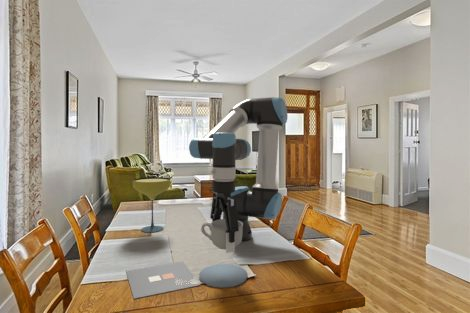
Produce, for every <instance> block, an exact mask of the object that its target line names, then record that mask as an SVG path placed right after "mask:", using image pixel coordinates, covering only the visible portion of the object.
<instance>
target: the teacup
mask: <svg viewBox="0 0 470 313" xmlns="http://www.w3.org/2000/svg"><path fill="white" fill-rule="evenodd" d="M205 227H208V228H209V230H210V234H209V233H208V232H207V231H206V230H205ZM238 227H239V231H236V232H235V248H237V247H238V246H239V245H240V244H241V243H242V242H241V241H242V232H243V223H242V222H241V221H238ZM200 230H201V233H202V234H203V235H204V236H205V237H206V238H208V239H209V240H210V241H211V242H212V244H213V245H214V246H215V247H216V248H218V249H219V250H220V249H221V250H225V251H226V232H225V231H227V226H226V221H225V219H223V218H221V219H219V220H215V221H213V222H212V221H211V222H210V223H209V222H204V223H203V224H202V225H201V228H200Z"/></svg>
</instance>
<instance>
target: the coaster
mask: <svg viewBox="0 0 470 313" xmlns="http://www.w3.org/2000/svg"><path fill="white" fill-rule="evenodd" d="M198 278H200V279H199V281H200V280H201V281H202V282H203V283H202V282H201V281H200V282H201V283H202V284H204V283H205V284H207V285H206V286H208V285H209V287H211V286H212V288H217V287H219V288H220V289H226V288H227V289H228V288H229V289H230V288H234V287H237V286H240V285H243V283H245V282H246V281H247V279H248V272H247V270H246V269H245V268H243V267H241V266H239V265H237V264H236V265H235V264H231V263H230V264H229V263H218V264H212V265H208V266H206V267H204V268H202V269H201V270H200V271H199V273H198ZM205 284H204V285H205Z"/></svg>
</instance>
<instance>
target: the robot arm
mask: <svg viewBox="0 0 470 313" xmlns="http://www.w3.org/2000/svg"><path fill="white" fill-rule="evenodd" d="M287 121H288V109H287V104H286V102H285V100H284V98H283V97H274V96H272V97H259V98H257V97H256V98H254V97H253V98H248V99H245V100H243V101H241V102H239V103H237V104H236V105H234V106H233V107H231V109H229V111H228V113H227V115H226V116H225V117H224V118H222V120H220V121H219V122H218V123H217V124H216V125H215V126H214V127H213V128H211V129H210V130H209V131H208V132H207V133H206V134H205V135H204V136H202V137H198V138H195V137H194V138H193V139H191V141H190V142H189V145H188V150H189V154H190V156H191V157H192V158H194V159H200V160H203V159H205V160H212V170H210V172H211V173H212V174H211V175H212V179H213V180H212V182H211V183H212V184H211V188H212V189H211V191H212V201H211V208H210V216H209V218H210V219H211V223H212V222H213V221H215V220H219V219H225V221H226V226H227V231H225V232H226V250H225V253H235V251H236V247H235V232H236V231H239V227H238V221H241V222H242V223H243V232H242V241H241V243H242V242H247V241H249V240H251V239H253V235H252V234H253V232H252V229H251V225H250V222H249V217H251V218H257V219H264V220H267V219H268V220H274V219H276V218H278V215H279V214H280V211H281V209H282V204H283V195H282V193H281V192H279V187H278V186H277V185H276V179H277V164H278V162H277V161H278V148H279V147H278V146H279V135H280V133H279V132H280V131H281V130H282V129H283V125H284V124H286V123H288V122H287ZM249 124H251V125H252V124H256V128H257V129H258V130H259V133H258V134H259V135H258V136H259V138H258V148H257V149H258V150H257V161H256V163H257V164H256V177H255V184H253V185H252V187H251V190H250V188H249V187H248V186H247V185H245V186H236V181H235V180H236V172H237V170H236V161H238V160H239V161H242V160H244V159H247V158H248V157H249V156H250V154H251V151H252V149H251V148H252V147H251V144H250V142H249V141H248V140H246V139H245V138H244V139H243V138H237V136H236V134H235V133H236V132H237V131H238V130H239V129H240V128H243V127H244V126H246V125H249ZM221 217H222V218H221Z"/></svg>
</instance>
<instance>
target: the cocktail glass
mask: <svg viewBox="0 0 470 313" xmlns="http://www.w3.org/2000/svg"><path fill="white" fill-rule="evenodd" d="M171 181H172V180H171V178H168V177H161V176H160V177H159V176H157V177H156V176H151V177H150V176H149V177H140V178H134V179H133V180H132V187H133V189H134V190H135V191H137V192H139V193H140V194H142V195H145V196H147V198H148V199H149V200H150V201H151V220H150V221H151V224H150V225H149V226H145V227H142V228H141V229H140V230H141V232H143V233H147V234H148V233H149V234H151V233H159V232H161V231H163V230H164V226H161V225H155V223H154V200H155V199H156V198H157V196H159V195H161V194H162V193H164V192H166V191H167V190H169V189H170V188H171V185H172V184H171V183H172V182H171Z"/></svg>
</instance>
